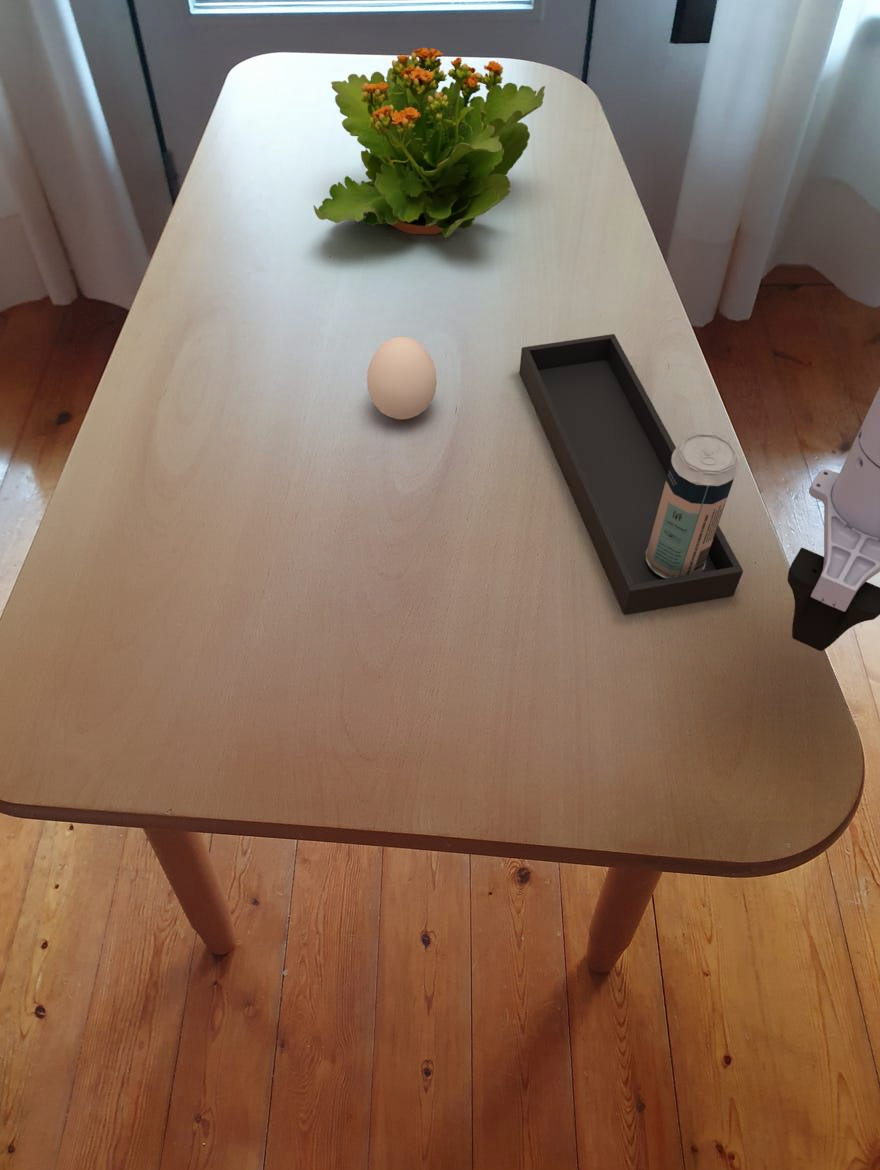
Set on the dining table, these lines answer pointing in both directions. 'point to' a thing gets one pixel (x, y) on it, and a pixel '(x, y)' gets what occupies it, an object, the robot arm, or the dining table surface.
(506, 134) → the potted flower
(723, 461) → the beer can
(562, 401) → the baking pan
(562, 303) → the dining table surface
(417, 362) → the egg
